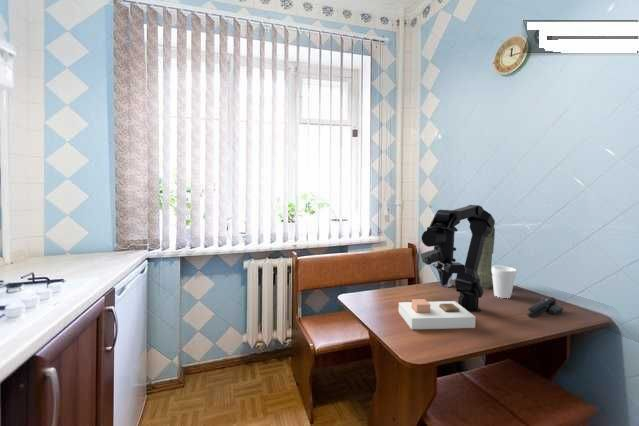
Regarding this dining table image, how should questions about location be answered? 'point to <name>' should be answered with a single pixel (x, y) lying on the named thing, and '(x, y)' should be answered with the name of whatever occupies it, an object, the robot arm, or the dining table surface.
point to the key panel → (437, 317)
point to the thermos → (486, 261)
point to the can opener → (545, 307)
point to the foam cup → (503, 280)
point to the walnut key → (449, 308)
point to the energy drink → (448, 282)
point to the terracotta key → (420, 306)
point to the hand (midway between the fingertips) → (443, 285)
